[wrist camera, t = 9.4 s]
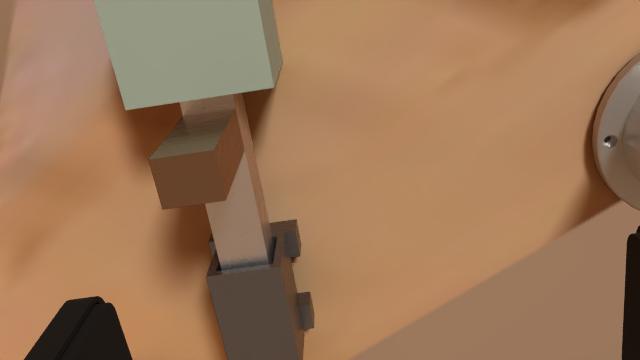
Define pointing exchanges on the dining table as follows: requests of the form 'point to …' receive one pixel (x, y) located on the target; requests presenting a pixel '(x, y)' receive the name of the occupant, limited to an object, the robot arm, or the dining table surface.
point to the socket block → (189, 48)
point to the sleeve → (262, 302)
